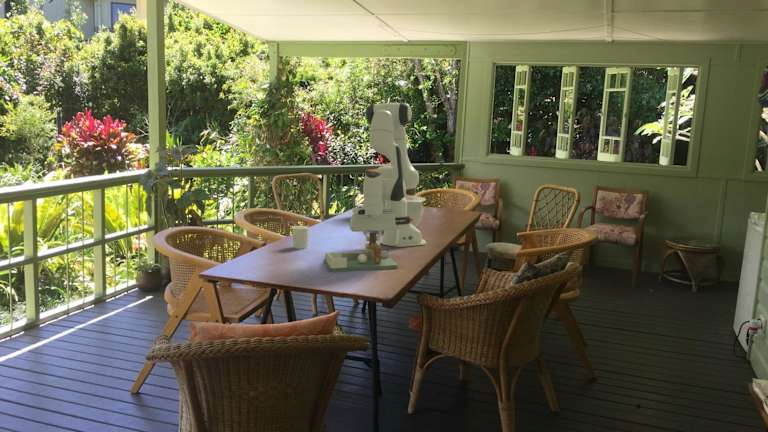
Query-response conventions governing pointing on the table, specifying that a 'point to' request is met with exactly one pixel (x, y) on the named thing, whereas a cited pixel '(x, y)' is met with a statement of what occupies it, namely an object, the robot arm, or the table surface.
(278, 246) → the table surface
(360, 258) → the ball
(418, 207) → the chamber pot
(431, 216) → the table surface
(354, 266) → the pitch
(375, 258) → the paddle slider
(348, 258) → the rail
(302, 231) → the white cup
